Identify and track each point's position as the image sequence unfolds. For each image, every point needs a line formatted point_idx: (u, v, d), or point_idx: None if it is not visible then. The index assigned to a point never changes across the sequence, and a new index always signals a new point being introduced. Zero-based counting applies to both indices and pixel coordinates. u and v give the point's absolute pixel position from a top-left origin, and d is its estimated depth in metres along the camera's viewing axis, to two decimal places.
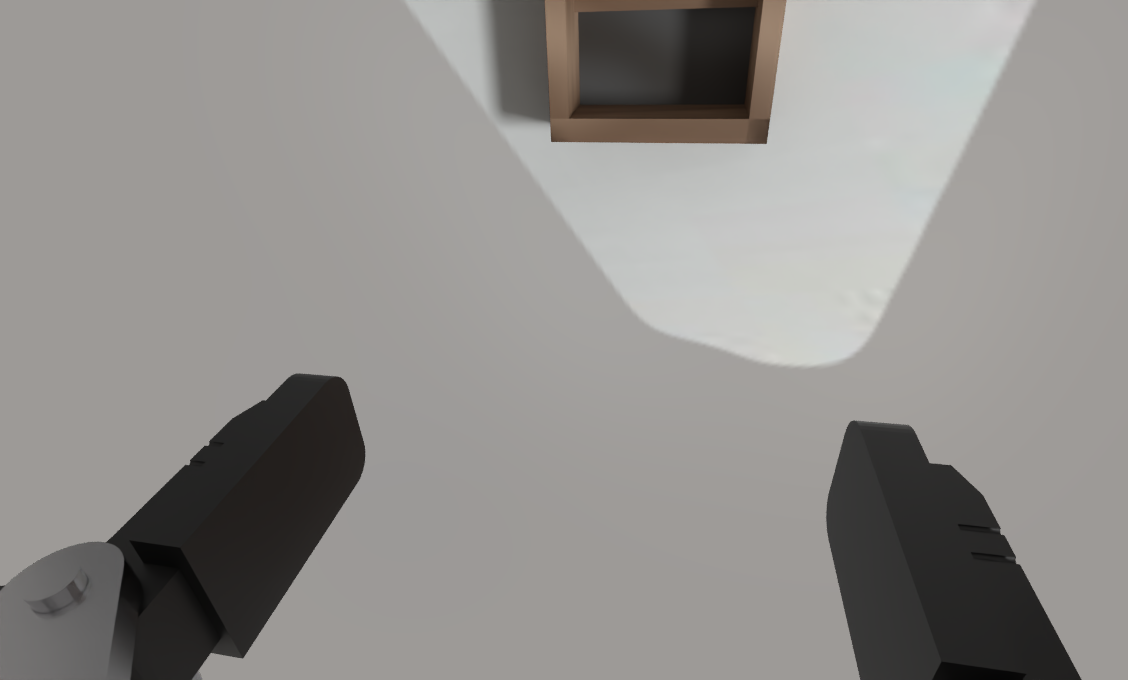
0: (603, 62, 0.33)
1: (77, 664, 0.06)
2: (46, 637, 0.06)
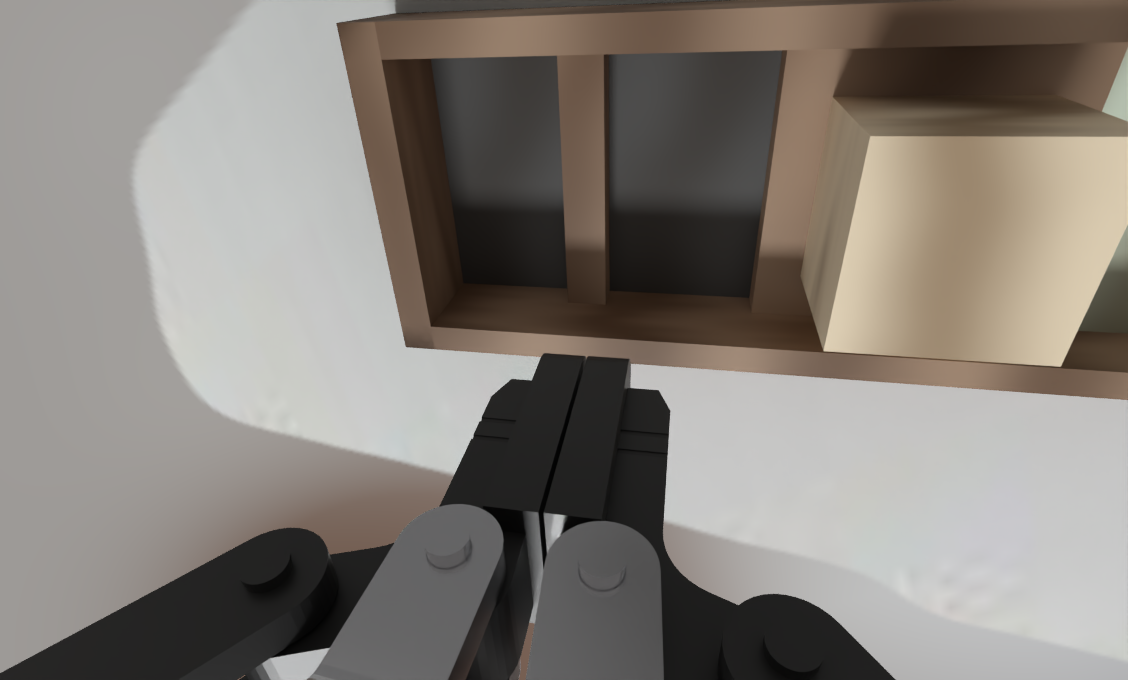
0: (494, 86, 0.21)
1: (433, 647, 0.06)
2: (425, 596, 0.06)
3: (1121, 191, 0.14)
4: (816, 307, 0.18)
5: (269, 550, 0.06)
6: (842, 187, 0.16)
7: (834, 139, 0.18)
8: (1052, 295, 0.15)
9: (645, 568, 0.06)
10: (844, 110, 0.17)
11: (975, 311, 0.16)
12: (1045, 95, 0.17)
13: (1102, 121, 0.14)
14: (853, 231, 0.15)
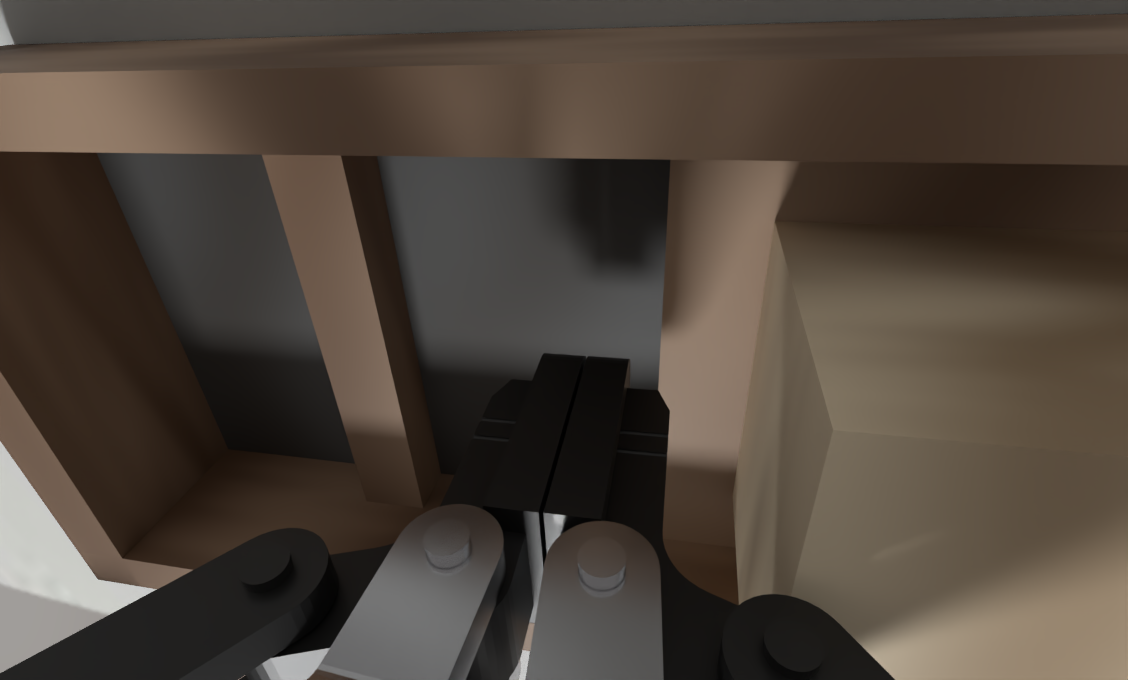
0: (195, 171, 0.12)
1: (433, 647, 0.06)
2: (424, 596, 0.06)
3: None
4: None
5: (268, 550, 0.06)
6: (781, 454, 0.07)
7: (774, 317, 0.09)
8: None
9: (645, 568, 0.06)
10: (789, 275, 0.08)
11: None
12: None
13: None
14: None
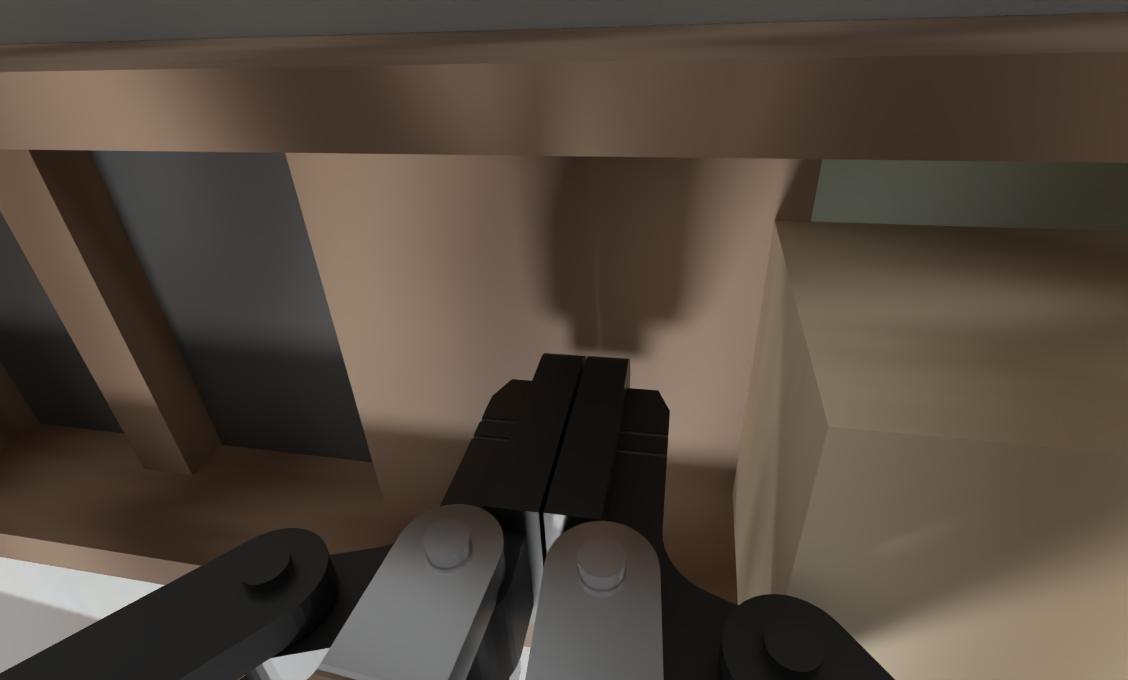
0: None
1: (433, 647, 0.06)
2: (424, 596, 0.06)
3: None
4: None
5: (269, 550, 0.06)
6: (779, 451, 0.07)
7: (773, 315, 0.09)
8: None
9: (645, 569, 0.06)
10: (788, 274, 0.08)
11: None
12: None
13: None
14: (795, 596, 0.06)
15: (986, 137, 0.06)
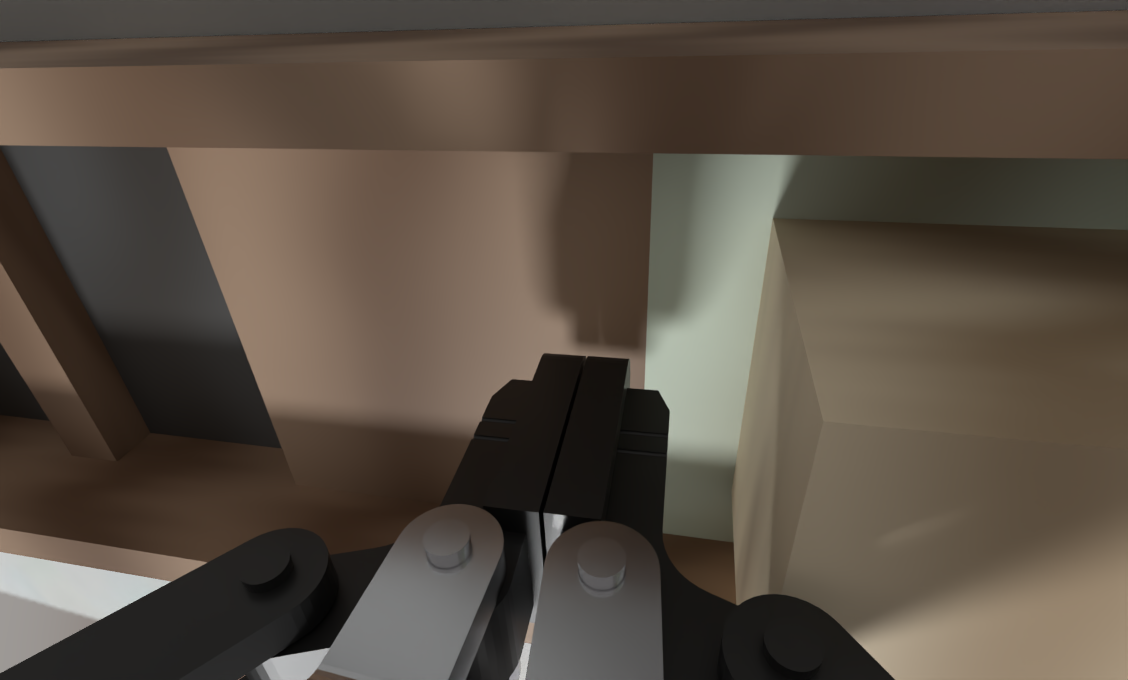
0: None
1: (433, 646, 0.06)
2: (424, 595, 0.06)
3: None
4: None
5: (269, 550, 0.06)
6: (776, 447, 0.07)
7: (771, 312, 0.09)
8: None
9: (645, 568, 0.06)
10: (785, 271, 0.08)
11: None
12: None
13: None
14: (790, 590, 0.07)
15: (733, 132, 0.07)
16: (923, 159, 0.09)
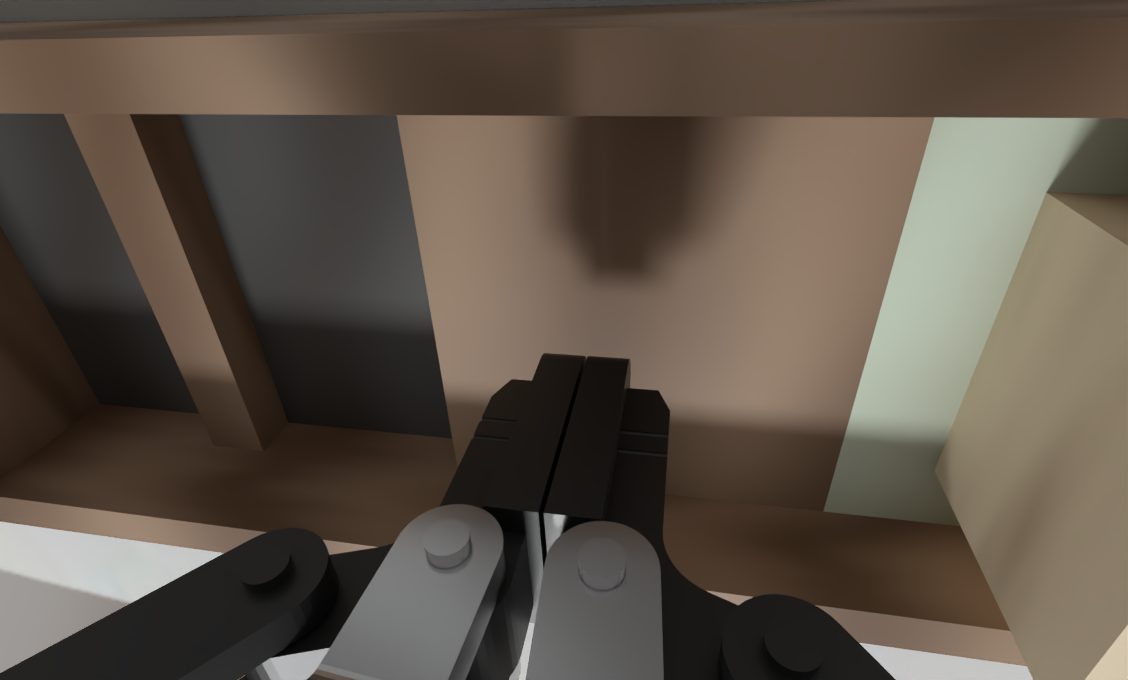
0: (31, 141, 0.14)
1: (433, 647, 0.06)
2: (424, 596, 0.06)
3: None
4: (1008, 589, 0.10)
5: (268, 550, 0.06)
6: (1126, 414, 0.08)
7: (1066, 284, 0.09)
8: None
9: (645, 568, 0.06)
10: (1115, 240, 0.08)
11: None
12: None
13: None
14: None
15: None
16: None
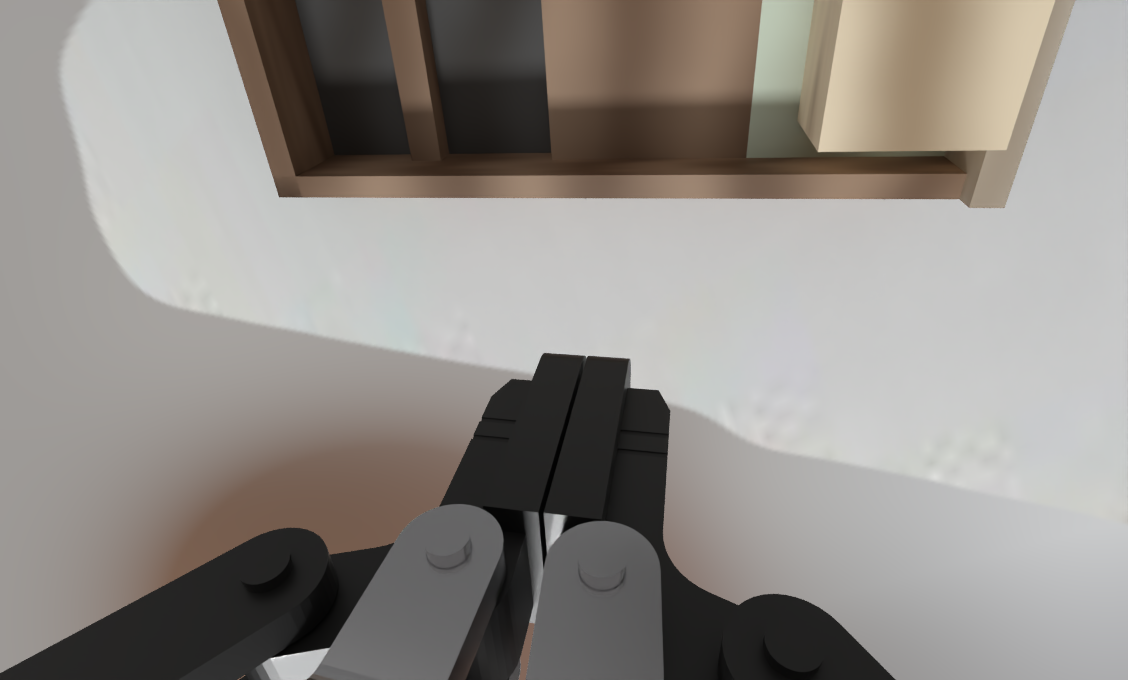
0: None
1: (433, 647, 0.06)
2: (424, 596, 0.06)
3: None
4: (811, 127, 0.23)
5: (268, 550, 0.06)
6: (830, 11, 0.20)
7: None
8: (996, 84, 0.19)
9: (645, 568, 0.06)
10: None
11: (937, 104, 0.20)
12: None
13: None
14: (840, 37, 0.19)
15: None
16: None
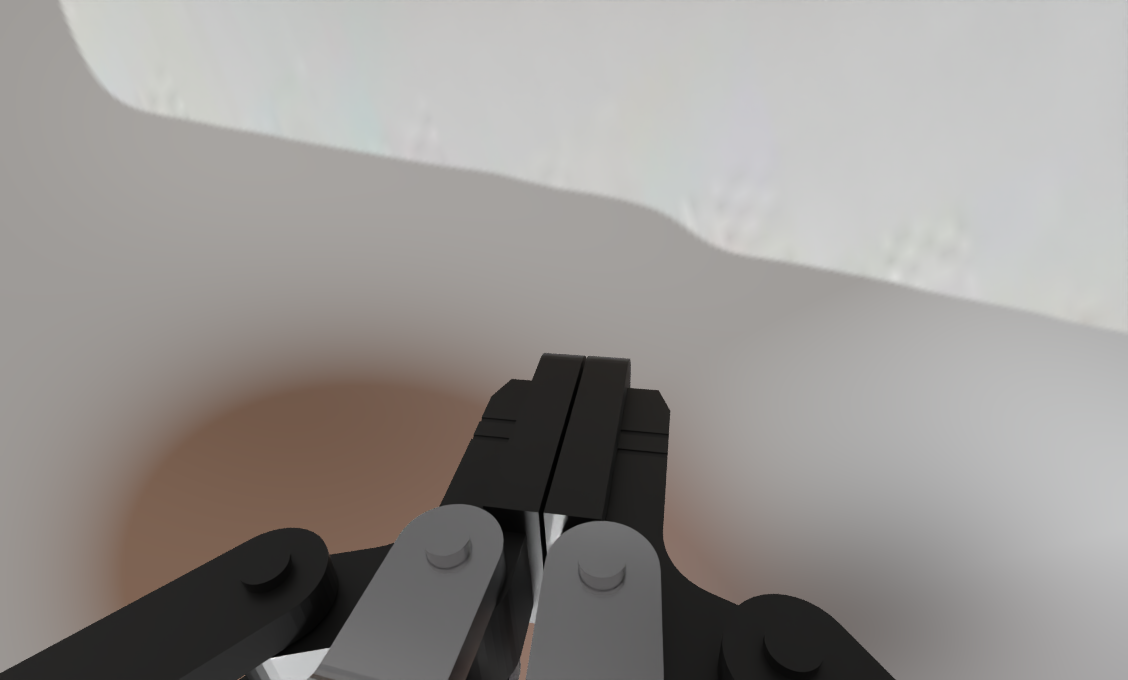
0: None
1: (433, 646, 0.06)
2: (424, 596, 0.06)
3: None
4: None
5: (268, 550, 0.06)
6: None
7: None
8: None
9: (645, 568, 0.06)
10: None
11: None
12: None
13: None
14: None
15: None
16: None
